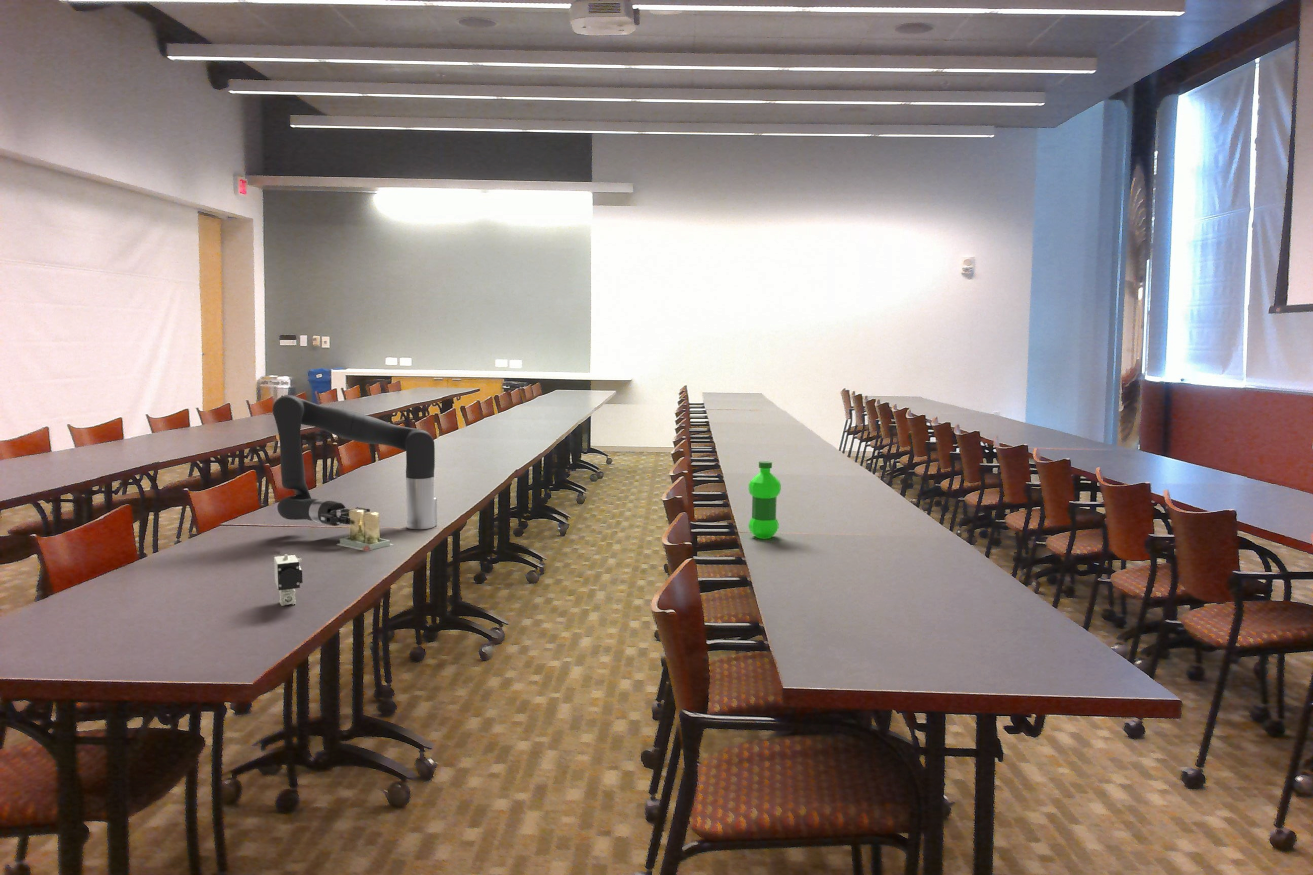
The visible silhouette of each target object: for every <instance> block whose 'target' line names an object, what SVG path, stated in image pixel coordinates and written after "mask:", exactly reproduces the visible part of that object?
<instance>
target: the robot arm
mask: <svg viewBox="0 0 1313 875" xmlns="http://www.w3.org/2000/svg"><path fill="white" fill-rule="evenodd" d="M272 415H273V417H274V420H275V425H276V428H277V434H278V439H279V450H280V451H279V453H280V454H279V455H280V459H279V460H280V475H281V485H282V488H283V489H285V490H292V491H293V492H294V493H295V494H294V495H291V496H285V497H283V498H281V499H280V500H279V501H278V503H277V507H276V508H277V513H278V514H279V515H280V517H282V518H284V519H286V520H293V521H295V520H297V521H299V520H305V521H311V522H316V523H318V524H321V525H328V526H333V527H336V526H340V525H342V524H343V525H348V526H349V524H350V517H349V511H350V510H354V509H363V510H364V512H365V513H366V512H371V509H370V508H366V507H359V506H357V507H355V508H350V507H346V506H345V505H344V504H343V503H342V502H340V501H334V500H329V499H318V498H317V499H316V498H312V496H311V493H310V491H309V488H308V485H307V483H306V472H305V471H306V470H305V462H304V461H305V460H304V455H303V449H302V448H303V447H302V442H301V441H302V439H301V427H302V425H303V426H304V425H305V426H308V427H309V426H310V427H314V428H317V429H320V430H323V431H324V432H327V433H330V434H331V435H334V436H337V437H340V438H342V439H345V440H350V441H354V442H357V443H358V442H359V443H361V444H363V443H364V444H369V445H380V446H388V447H392V448H396V449H399V450H401V451H404V452H405V455H406V456H405V460H406V464H405V465H406V466H405V487H406V488H405V489H406V490H405V494H406V495H405V496H406V528H407V529H411V530H426V529H427V530H429V529H432V528H435V526H438V503H437V501H438V499H437V497H435V468H436V464H435V462H436V461H435V460H436V459H435V458H436V457H435V456H436V455H435V454H436V451H435V449H436V448H435V440H434V438H433V435H432V434H430V433H429V432H428V431H427V430H425V429H421V428H414V427H406V426H401V425H396V424H392V423H390V422H388V421H384V420H382V419H379V418H377V417H374V416H369V415H367V414H364V413H360V412H356V411H352V410H347V409H344V408H343V409H342V408H336V407H330V406H329V407H328V406H324V405H320V404H317V403H314V402H311V401H309V400H306V399H303V398H301V397H298V396H295V395H293V394H284V395H282V396H280V397H278V398H277V399H276V400H275V401H274V403H273V405H272Z"/></svg>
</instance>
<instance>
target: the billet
mask: <svg viewBox="0 0 1313 875" xmlns="http://www.w3.org/2000/svg"><path fill="white" fill-rule="evenodd" d="M353 509H354V510H350V511H349V517H350V524H348V528H349V530H348V531H349V537H350V540H352V541H360V540H364V521H363V513H365V512H364V510H363V509H355V508H353Z"/></svg>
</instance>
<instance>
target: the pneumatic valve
mask: <svg viewBox="0 0 1313 875" xmlns="http://www.w3.org/2000/svg"><path fill="white" fill-rule="evenodd" d="M300 563H302V558H301V557H297V556H296V555H295V553H293V554H282V555H275V556H273V571H274V574H273V576H274V583H275V585H276V588H277V590H278V592H279V601H278V602H279V604H280V606H281V607H284V606H288V605H293V606H294V604H295V605H296V604H297V601H296V594H297V592H296V589H300V588H301V586H300V585H301V584H303V569H302V568H301V566H300Z"/></svg>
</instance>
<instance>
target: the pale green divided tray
mask: <svg viewBox="0 0 1313 875" xmlns="http://www.w3.org/2000/svg"><path fill="white" fill-rule="evenodd" d="M336 545H337V546H341V547H347V548H351V549H355V550H360V551H363V552H364V551H365V552H368V551H372V550H377V549H380V548H386V547H389V546H393V545H394V543H391V540H390V539H385V538H381V537H380V542H378V543H374V544H366V543H364V540H360V541H352V540H350V536H345V537H341V538H339V543H337V544H336Z"/></svg>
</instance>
